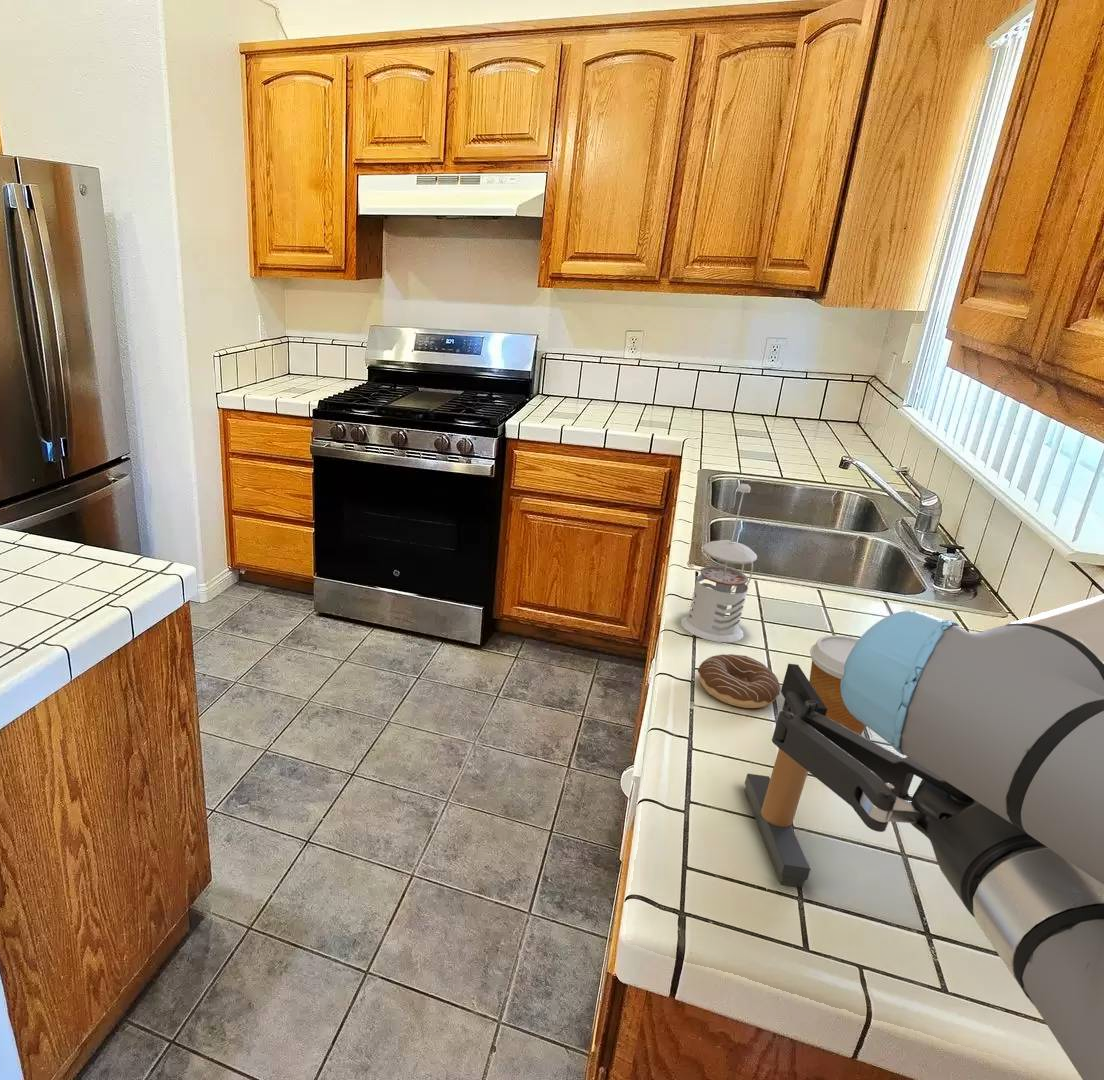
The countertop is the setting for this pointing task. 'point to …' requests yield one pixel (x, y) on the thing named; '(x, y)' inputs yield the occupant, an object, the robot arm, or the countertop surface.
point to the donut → (739, 680)
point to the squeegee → (780, 816)
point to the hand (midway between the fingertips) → (877, 688)
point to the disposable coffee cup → (833, 677)
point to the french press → (721, 590)
